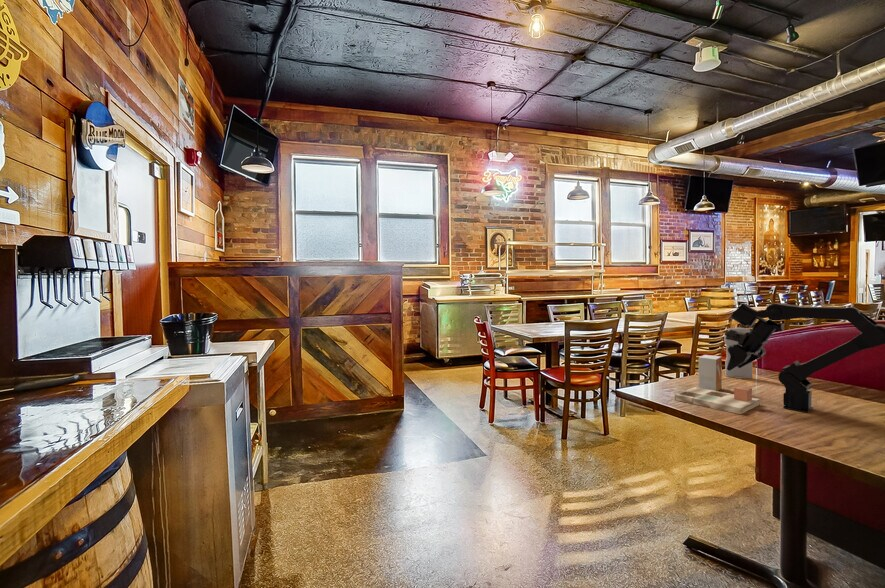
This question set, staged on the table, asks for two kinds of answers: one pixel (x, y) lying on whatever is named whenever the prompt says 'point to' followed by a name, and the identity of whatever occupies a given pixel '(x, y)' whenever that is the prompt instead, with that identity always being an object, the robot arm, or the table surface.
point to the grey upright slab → (736, 372)
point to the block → (743, 393)
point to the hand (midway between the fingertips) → (733, 368)
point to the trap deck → (716, 400)
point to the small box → (710, 372)
